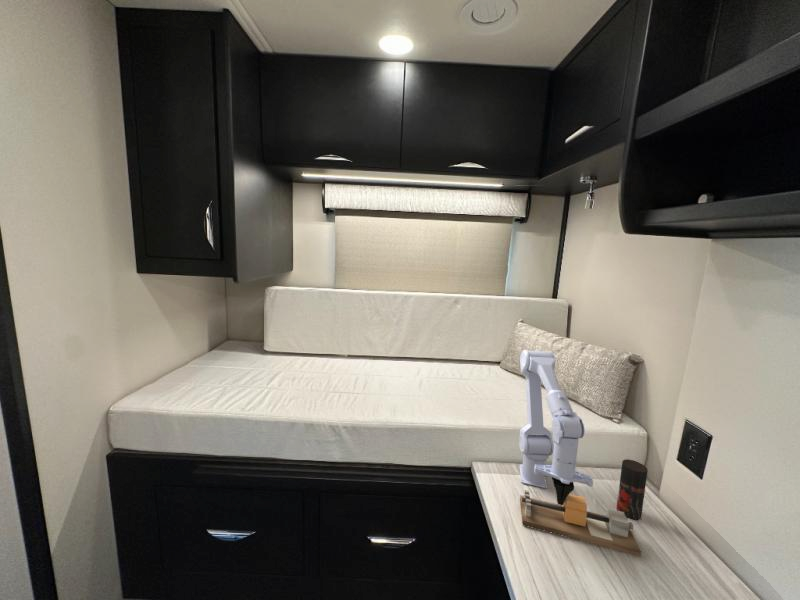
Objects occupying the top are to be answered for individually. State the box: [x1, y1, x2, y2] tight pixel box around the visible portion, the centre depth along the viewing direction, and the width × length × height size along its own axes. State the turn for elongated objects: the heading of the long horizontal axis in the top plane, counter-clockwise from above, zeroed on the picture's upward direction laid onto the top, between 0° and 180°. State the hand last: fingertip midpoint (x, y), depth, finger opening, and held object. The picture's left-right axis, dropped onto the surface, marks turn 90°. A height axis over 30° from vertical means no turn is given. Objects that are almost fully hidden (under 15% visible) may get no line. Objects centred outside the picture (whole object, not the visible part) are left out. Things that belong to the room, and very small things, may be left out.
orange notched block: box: [562, 493, 588, 526], centre depth 86 cm, size 4×5×6 cm
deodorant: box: [616, 458, 649, 521], centre depth 91 cm, size 6×6×15 cm
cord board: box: [519, 490, 642, 557], centre depth 86 cm, size 10×28×6 cm, turn 72°
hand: (559, 502), depth 87 cm, fingers closed
